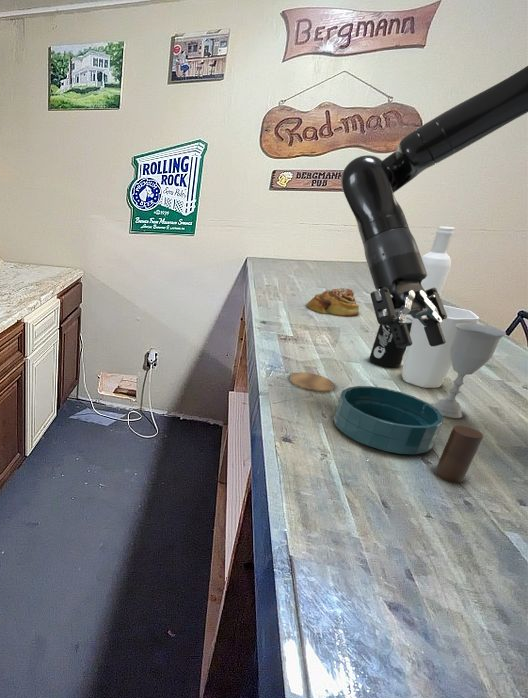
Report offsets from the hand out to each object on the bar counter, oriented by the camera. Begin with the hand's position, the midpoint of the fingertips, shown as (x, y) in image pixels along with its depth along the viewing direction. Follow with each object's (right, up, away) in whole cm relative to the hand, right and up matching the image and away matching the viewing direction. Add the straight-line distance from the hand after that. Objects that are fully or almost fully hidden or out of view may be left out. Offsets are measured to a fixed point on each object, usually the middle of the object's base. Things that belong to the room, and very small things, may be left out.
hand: (422, 346), depth 78 cm
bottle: (+48, +7, +62) cm, 79 cm away
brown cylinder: (+1, -21, -4) cm, 22 cm away
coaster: (-4, -8, +27) cm, 28 cm away
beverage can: (+21, -3, +37) cm, 43 cm away
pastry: (+33, +14, +78) cm, 86 cm away
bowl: (-2, -16, +8) cm, 18 cm away
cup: (+22, -8, +28) cm, 37 cm away
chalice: (+17, -13, +15) cm, 26 cm away
